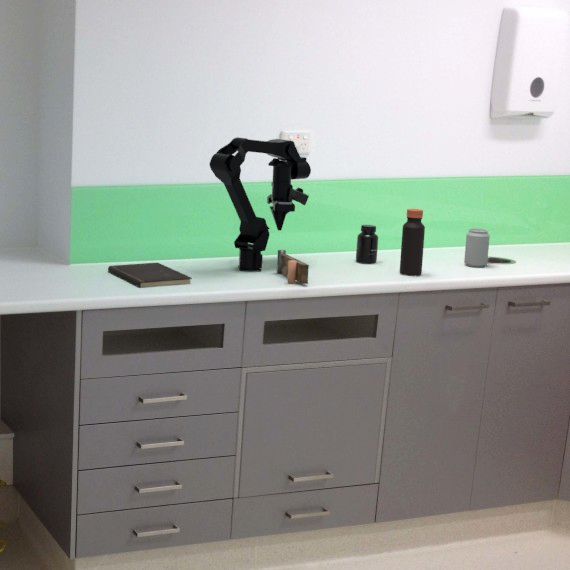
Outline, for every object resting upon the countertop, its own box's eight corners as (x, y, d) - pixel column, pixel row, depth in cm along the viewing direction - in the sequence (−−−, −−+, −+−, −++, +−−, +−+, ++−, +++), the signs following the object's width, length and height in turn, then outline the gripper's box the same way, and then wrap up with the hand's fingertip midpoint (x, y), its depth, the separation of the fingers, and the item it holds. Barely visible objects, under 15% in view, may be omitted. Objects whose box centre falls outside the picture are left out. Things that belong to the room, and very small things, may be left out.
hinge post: (277, 273, 322) (278, 251, 321) (276, 272, 325) (277, 249, 323) (285, 274, 323) (286, 251, 321) (284, 272, 325) (285, 249, 324)
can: (461, 266, 348) (464, 229, 346) (466, 262, 355) (469, 226, 353) (484, 268, 346) (487, 232, 343) (489, 265, 353) (492, 229, 350)
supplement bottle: (375, 264, 344) (377, 228, 341) (354, 263, 345) (356, 226, 343) (377, 261, 350) (380, 224, 348) (357, 259, 352) (359, 223, 349)
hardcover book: (157, 269, 323) (157, 262, 322) (191, 285, 304) (191, 277, 303) (107, 273, 315) (107, 265, 314) (139, 289, 295) (139, 281, 295)
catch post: (288, 283, 310) (289, 261, 308) (286, 281, 312) (287, 259, 311) (296, 283, 310) (297, 261, 309) (294, 281, 312) (296, 260, 311)
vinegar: (408, 270, 337) (413, 207, 332) (425, 274, 332) (430, 210, 328) (395, 273, 332) (399, 209, 328) (412, 277, 327) (416, 212, 323)
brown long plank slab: (280, 272, 322) (280, 254, 321) (285, 272, 323) (286, 254, 321) (301, 283, 307) (302, 265, 306) (307, 283, 308) (308, 264, 307)
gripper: (312, 184, 323) (310, 235, 326) (302, 177, 341) (300, 226, 344) (276, 183, 321) (273, 235, 325) (267, 176, 339) (265, 225, 343)
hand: (279, 230), depth 334 cm, fingers closed
